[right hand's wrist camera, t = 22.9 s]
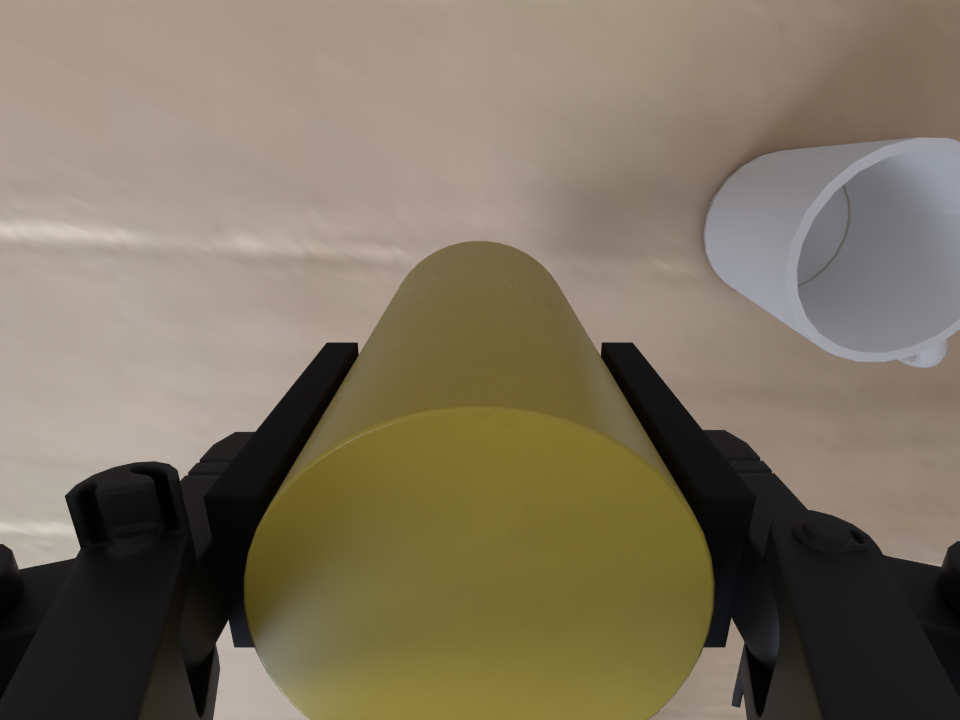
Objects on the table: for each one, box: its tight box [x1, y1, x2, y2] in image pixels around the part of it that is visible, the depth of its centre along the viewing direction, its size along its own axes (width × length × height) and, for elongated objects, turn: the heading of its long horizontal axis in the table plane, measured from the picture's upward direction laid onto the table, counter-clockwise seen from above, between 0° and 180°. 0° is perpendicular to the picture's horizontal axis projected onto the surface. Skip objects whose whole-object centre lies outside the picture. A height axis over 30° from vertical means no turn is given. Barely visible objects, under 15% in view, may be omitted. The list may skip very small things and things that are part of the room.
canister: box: [244, 241, 715, 720], centre depth 13 cm, size 6×6×12 cm
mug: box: [703, 138, 960, 368], centre depth 27 cm, size 11×9×10 cm
